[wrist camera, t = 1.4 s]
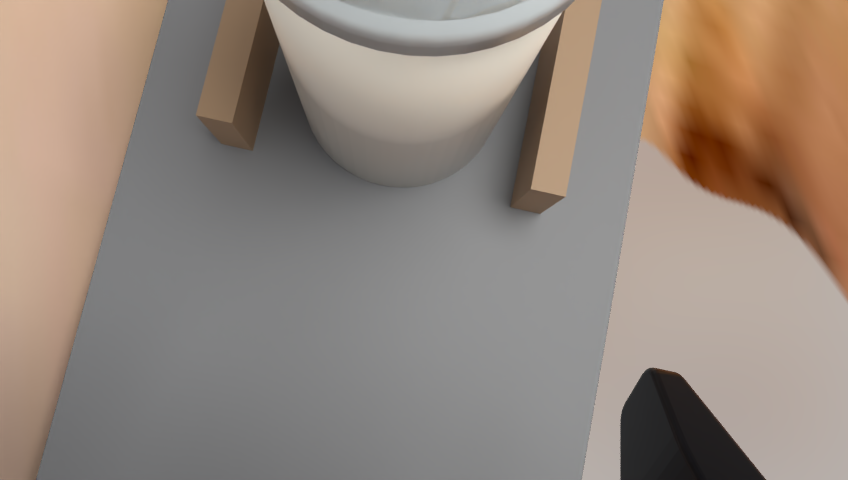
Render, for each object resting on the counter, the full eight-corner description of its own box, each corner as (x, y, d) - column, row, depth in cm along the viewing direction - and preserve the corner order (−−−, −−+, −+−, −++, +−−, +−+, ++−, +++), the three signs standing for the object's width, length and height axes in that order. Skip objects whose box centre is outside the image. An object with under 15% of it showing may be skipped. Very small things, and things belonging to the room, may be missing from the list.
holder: (548, 601, 21) (588, 670, 17) (46, 503, 21) (-38, 549, 17) (666, -82, 24) (725, -165, 20) (234, -185, 24) (203, -292, 20)
